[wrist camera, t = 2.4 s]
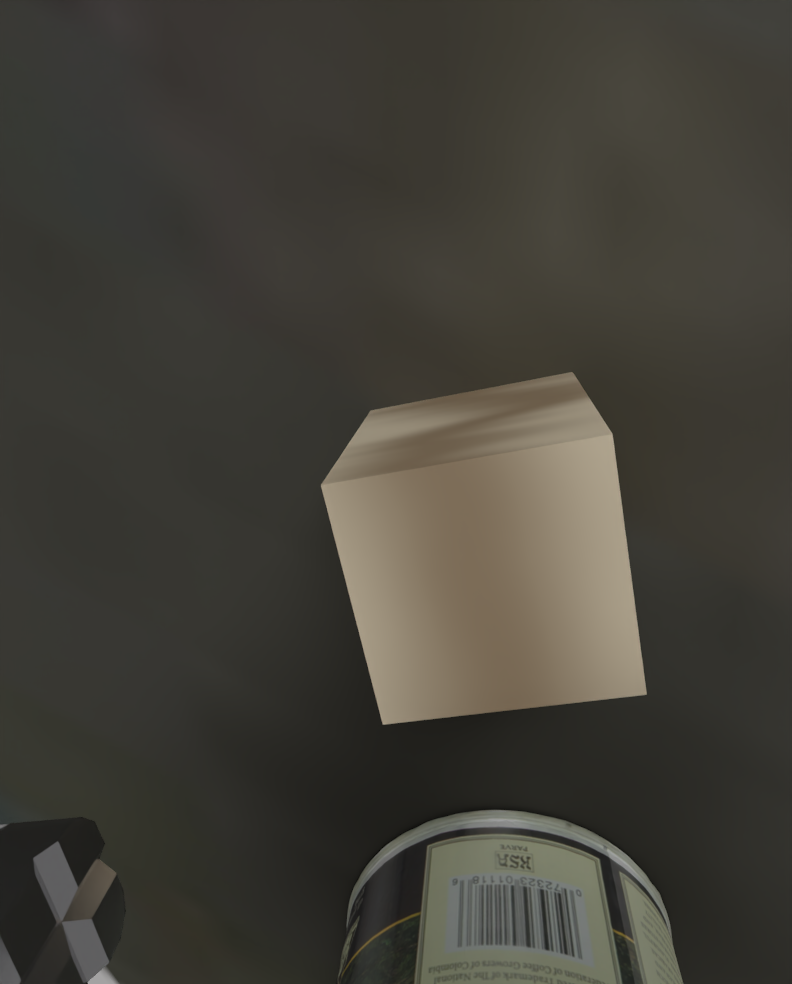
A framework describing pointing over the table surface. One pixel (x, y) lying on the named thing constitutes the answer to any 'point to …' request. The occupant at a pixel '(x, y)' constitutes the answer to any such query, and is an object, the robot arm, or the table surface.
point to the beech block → (487, 552)
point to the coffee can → (505, 908)
